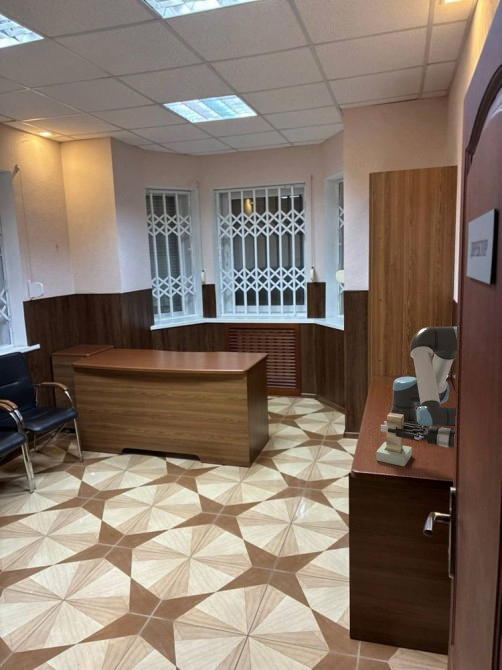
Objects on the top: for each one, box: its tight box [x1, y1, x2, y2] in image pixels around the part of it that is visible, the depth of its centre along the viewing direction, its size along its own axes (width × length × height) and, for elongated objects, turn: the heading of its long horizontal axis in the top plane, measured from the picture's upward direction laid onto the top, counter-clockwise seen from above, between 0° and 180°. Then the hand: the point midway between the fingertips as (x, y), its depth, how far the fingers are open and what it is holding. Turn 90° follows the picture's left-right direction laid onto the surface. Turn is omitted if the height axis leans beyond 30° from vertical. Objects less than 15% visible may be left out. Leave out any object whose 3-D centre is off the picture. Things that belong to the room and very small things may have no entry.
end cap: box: [375, 441, 413, 467], centre depth 205 cm, size 12×12×4 cm
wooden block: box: [385, 412, 404, 453], centre depth 203 cm, size 4×6×16 cm, turn 58°
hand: (382, 426), depth 206 cm, fingers closed on wooden block, 4 cm apart
